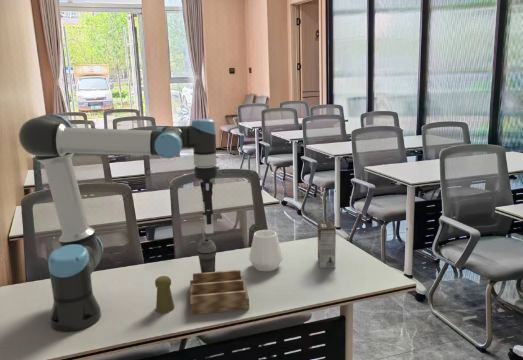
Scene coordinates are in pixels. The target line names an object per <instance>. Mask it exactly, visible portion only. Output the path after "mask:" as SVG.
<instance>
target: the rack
mask: <svg viewBox="0 0 523 360" xmlns="http://www.w3.org/2000/svg"><path fill="white" fill-rule="evenodd" d="M241 273H242V271H241V269H233V270H221V271H220V270H219V271H215V272H207V273H201V272H199V273H192V280H189V281H190V285H189V286H190V294H189V295H190V296H189V297H190V298H189V301H190V303H189V305H190V315H198V314H199V315H200V314H201V315H202V314H209V313H210V314H211V313H212V314H213V313H220V312H231V311H241V310H250V298H249V293H248V290H247V285H246V281H245V277H244V275H241Z"/></svg>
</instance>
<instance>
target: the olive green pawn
mask: <svg viewBox="0 0 523 360" xmlns="http://www.w3.org/2000/svg"><path fill="white" fill-rule="evenodd" d="M154 285H155V287H156V304H155V305H156V308H155V311H156V312H158V313H162V314H164V313H165V314H166V313H169V312H172V311H173V310H175V304H174V303H175V302H174V299H173V295H172V290H171V285H172V280H171V277H169V276H168V275H167V276H166V275H161V276H158V277H157V278H156V279H155V281H154Z"/></svg>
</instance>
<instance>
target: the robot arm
mask: <svg viewBox="0 0 523 360" xmlns="http://www.w3.org/2000/svg"><path fill="white" fill-rule="evenodd" d="M18 139H19V143H20V145H21V147H22V149H24V150H25V152H27V153H28V154H31V155H32V156H35V158H36V161H37V162H38V163H41V164H42V165H43V168H44V171H45V175H46V179H47V183H48V187H49V189H50V193H51V197H52V201H53V205H54V208H55V211H56V216H57V219H58V222H59V227H60V230H61V233H62V234H60V236H59V238H58V241H59V244H60V245H59V246H60V247H59V248H56V249H55V250H53V251H52V252H51V253H50V255H49V257H48V271H49V278H50V283H51V284H50V285H51V291H52V297H53V304H52V308H51V313H50V318H49V319H50V327H51V328H52V329H53V330H55V331H58V332H74V331H76V332H77V331H80V330H83V329H86V328H89V327H91V326H93V325H94V324H96V323H97V322H98V321H99V320H100V318H101V317H102V312H101V306H100V305H99V303H98V301H97V299H96V297H95V295H94V292H93V285H92V277H91V276H92V274H93V273H94V270H95V269H96V267H97V266H98V265H99V263H100V262H101V260H102V258H103V255H104V246H103V243H102V241H101V239H100V238H99V237H98V236H97V234H96V231H95V229H94V228H93V227H92V226H91V227H90V226H89V222H88V219H87V215H86V211H85V207H84V203H83V200H82V195H81V192H80V188H79V184H78V179H77V176H76V172H75V171H76V170H75V168H74V165H73V161H72V158H73V156H74V154H91V155H93V154H95V155H125V156H126V155H130V156H153V157H154V156H155V157H161V158H163V159H164V158H165V159H172V158H174V157H176V156H177V155H179V154H180V153H181V151H182V150H185V149H186V150H190V149H193V153H192V154H193V164H194V170H193V171H194V178H195V179H198V180H201V181H200V191H201V195H202V197H201V199H202V216H203V222H204V235H206V234H214V211H213V199H212V196H213V187H214V186H213V181H211V179H215V178H217V177H218V166H217V159H218V158H219V155H218V154H217V132H216V123H215V121H214V120H213V119H212V118H195V119H193V120H192V121H191V124H190V125H183V126H182V125H179V126H178V125H175V126H173V125H172V126H171V125H165V126H157V127H156V128H155V129H154V130H145V129H143V130H142V129H118V128H117V129H116V128H93V127H92V128H90V127H73V125H72V123H71V122H70V121H69V120H68V119H67V118H66V117H64V116H62V115H59V114H54V113H52V114H51V113H50V114H49V113H48V114H44V115H40V116H38V117H33V118H30V119H28V120H27V121H25V122H24V123H23V124H22V125H21V127H20V130H19V132H18Z"/></svg>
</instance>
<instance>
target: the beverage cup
mask: <svg viewBox="0 0 523 360" xmlns="http://www.w3.org/2000/svg"><path fill="white" fill-rule="evenodd" d="M201 233H202V238H203V240H201V241H200V242H199V243H198V245H197V249H196V252H197V256H198V260H199V266H200V267H199V268H200V273H207V272H216V255H217V246H216V244H215V242H214V241H213V240H212V239H207V238H206V237H205V230H204V228H201ZM205 238H206V239H205Z"/></svg>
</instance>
